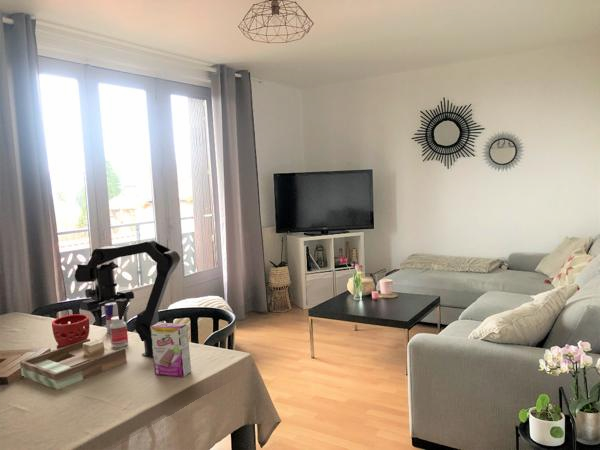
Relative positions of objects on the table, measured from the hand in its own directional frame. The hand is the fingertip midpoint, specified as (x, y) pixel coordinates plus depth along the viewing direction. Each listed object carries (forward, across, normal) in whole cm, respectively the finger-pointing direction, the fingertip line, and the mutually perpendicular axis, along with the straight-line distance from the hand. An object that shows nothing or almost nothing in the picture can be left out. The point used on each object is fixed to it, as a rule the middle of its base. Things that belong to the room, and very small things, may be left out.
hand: (110, 322), depth 182 cm
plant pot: (+12, +4, -21) cm, 24 cm away
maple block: (+9, +8, 0) cm, 12 cm away
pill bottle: (+12, -7, -7) cm, 16 cm away
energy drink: (+12, -17, -26) cm, 33 cm away
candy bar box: (+12, +1, +35) cm, 37 cm away
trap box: (+12, +15, 0) cm, 19 cm away
